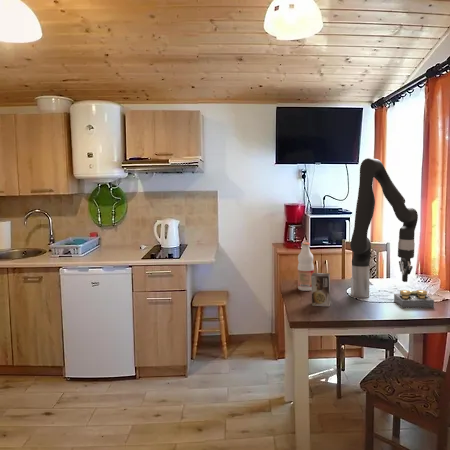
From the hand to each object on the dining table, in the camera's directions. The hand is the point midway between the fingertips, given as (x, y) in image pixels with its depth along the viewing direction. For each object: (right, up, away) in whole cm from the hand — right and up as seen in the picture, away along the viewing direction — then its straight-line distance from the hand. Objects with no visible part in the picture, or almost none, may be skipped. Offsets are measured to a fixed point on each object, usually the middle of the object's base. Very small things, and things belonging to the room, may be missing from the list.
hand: (404, 281), depth 205 cm
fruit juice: (-43, -10, +37) cm, 57 cm away
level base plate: (+5, -12, +1) cm, 13 cm away
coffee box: (-41, -13, +7) cm, 43 cm away
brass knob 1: (+1, -12, +1) cm, 12 cm away
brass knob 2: (+9, -12, +1) cm, 15 cm away
